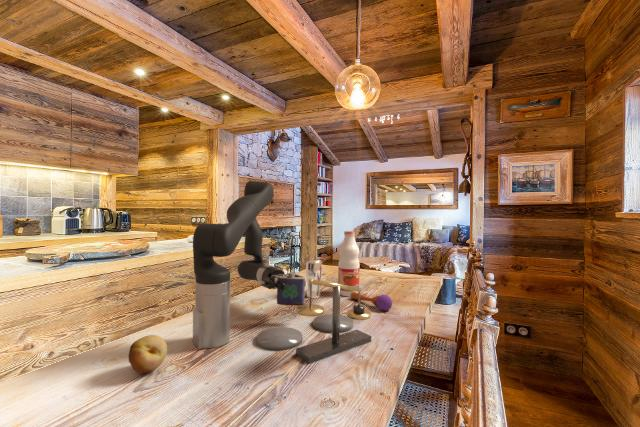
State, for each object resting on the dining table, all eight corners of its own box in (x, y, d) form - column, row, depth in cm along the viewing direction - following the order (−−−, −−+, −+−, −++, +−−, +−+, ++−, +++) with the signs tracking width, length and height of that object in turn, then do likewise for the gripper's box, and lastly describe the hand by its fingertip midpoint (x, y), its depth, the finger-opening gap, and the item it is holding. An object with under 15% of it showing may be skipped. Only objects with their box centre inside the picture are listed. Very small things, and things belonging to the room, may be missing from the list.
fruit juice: (350, 290, 144) (351, 230, 144) (363, 295, 136) (364, 232, 136) (333, 292, 139) (334, 230, 139) (346, 298, 131) (347, 232, 131)
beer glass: (319, 299, 129) (320, 263, 129) (303, 297, 131) (304, 262, 130) (322, 294, 136) (323, 260, 136) (307, 293, 138) (308, 259, 137)
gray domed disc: (270, 354, 80) (270, 350, 80) (249, 337, 90) (249, 333, 90) (311, 342, 88) (311, 338, 88) (287, 327, 98) (287, 323, 98)
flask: (304, 303, 104) (305, 271, 103) (303, 306, 101) (304, 273, 100) (277, 302, 104) (278, 270, 104) (275, 305, 101) (276, 272, 101)
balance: (306, 366, 74) (307, 283, 74) (290, 354, 80) (292, 278, 80) (375, 340, 89) (376, 272, 89) (358, 332, 95) (359, 268, 95)
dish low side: (330, 336, 92) (330, 332, 92) (305, 322, 102) (305, 319, 102) (361, 326, 100) (361, 323, 100) (335, 315, 110) (335, 311, 110)
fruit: (123, 382, 66) (124, 345, 66) (135, 363, 74) (135, 330, 74) (162, 377, 68) (163, 342, 68) (169, 360, 76) (170, 327, 76)
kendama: (359, 288, 133) (396, 296, 117) (358, 302, 132) (394, 312, 116) (349, 288, 129) (385, 295, 113) (347, 302, 129) (384, 312, 112)
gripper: (252, 268, 109) (275, 276, 96) (287, 264, 118) (312, 271, 105) (252, 289, 109) (275, 300, 96) (286, 284, 118) (312, 293, 105)
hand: (294, 285), depth 101 cm, fingers closed on flask, 7 cm apart
